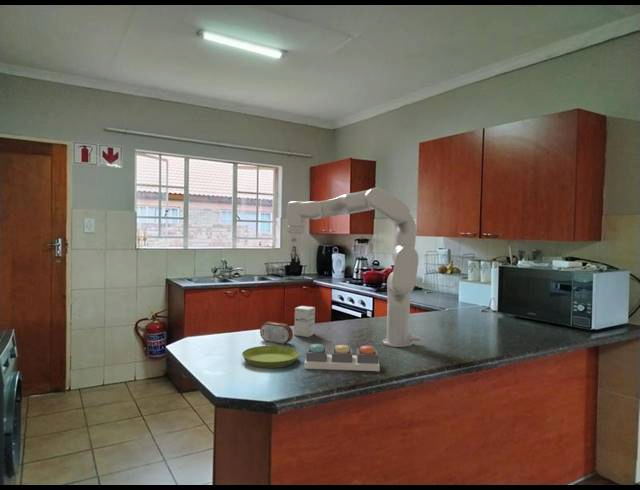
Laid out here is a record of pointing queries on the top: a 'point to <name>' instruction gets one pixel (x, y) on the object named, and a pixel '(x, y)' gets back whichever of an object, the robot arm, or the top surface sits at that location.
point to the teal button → (317, 348)
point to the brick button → (366, 350)
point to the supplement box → (304, 321)
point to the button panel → (342, 360)
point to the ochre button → (342, 349)
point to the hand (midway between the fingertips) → (295, 270)
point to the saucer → (270, 356)
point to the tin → (276, 332)
